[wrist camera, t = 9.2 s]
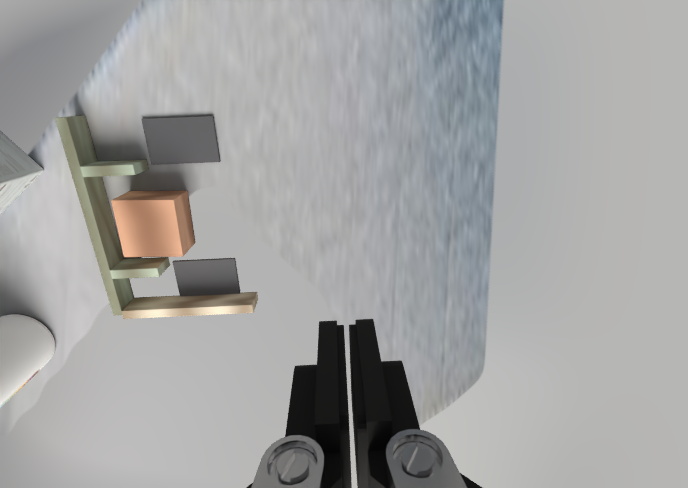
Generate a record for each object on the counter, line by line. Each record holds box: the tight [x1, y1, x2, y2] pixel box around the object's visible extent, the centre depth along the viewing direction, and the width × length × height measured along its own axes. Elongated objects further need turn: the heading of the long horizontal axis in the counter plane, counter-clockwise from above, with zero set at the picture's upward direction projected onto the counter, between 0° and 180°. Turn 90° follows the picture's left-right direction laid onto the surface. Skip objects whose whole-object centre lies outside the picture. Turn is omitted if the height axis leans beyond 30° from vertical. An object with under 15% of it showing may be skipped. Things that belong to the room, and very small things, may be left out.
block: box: [111, 191, 195, 257], centre depth 40 cm, size 6×6×4 cm
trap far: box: [173, 258, 240, 297], centre depth 45 cm, size 7×4×1 cm, turn 92°
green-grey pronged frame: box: [55, 116, 258, 319], centre depth 41 cm, size 16×22×3 cm
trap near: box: [142, 116, 220, 165], centre depth 39 cm, size 7×4×1 cm, turn 92°
